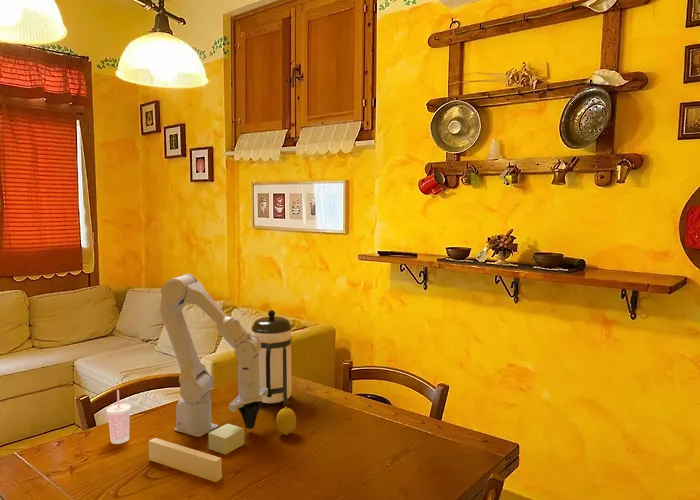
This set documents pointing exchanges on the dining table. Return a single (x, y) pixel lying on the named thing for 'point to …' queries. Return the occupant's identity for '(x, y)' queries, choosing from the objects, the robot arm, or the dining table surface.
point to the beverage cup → (119, 421)
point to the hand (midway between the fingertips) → (249, 427)
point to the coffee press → (274, 357)
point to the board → (185, 459)
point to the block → (226, 438)
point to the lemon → (286, 420)
